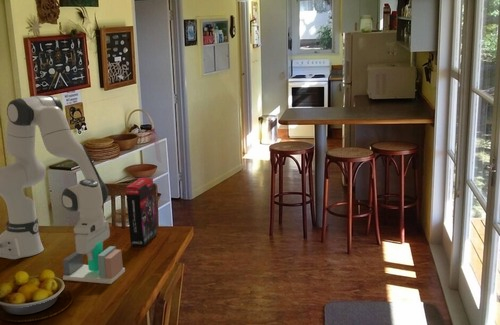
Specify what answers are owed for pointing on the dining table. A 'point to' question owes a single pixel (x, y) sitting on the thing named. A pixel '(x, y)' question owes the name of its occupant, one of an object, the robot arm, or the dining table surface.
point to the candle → (95, 257)
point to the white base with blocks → (101, 268)
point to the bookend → (72, 263)
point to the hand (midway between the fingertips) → (95, 256)
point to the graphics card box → (141, 211)
